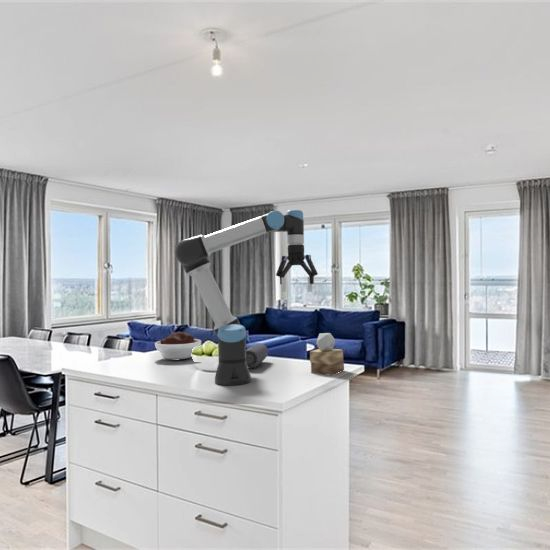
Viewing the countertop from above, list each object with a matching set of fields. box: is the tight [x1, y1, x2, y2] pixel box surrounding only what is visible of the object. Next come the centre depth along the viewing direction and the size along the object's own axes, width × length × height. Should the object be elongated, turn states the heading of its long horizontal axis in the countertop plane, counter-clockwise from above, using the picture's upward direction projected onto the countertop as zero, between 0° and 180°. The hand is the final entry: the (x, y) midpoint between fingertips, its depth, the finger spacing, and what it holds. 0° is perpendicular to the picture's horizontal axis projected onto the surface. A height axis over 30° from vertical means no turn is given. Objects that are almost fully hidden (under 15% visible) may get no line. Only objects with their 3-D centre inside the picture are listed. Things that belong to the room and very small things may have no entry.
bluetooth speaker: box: [246, 343, 269, 369], centre depth 240 cm, size 23×9×10 cm, turn 168°
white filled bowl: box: [154, 331, 202, 360], centre depth 266 cm, size 25×25×15 cm
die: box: [315, 332, 336, 351], centre depth 221 cm, size 8×9×10 cm
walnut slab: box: [310, 360, 345, 376], centre depth 221 cm, size 11×11×5 cm
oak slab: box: [309, 348, 344, 365], centre depth 221 cm, size 11×11×5 cm
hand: (296, 291), depth 220 cm, fingers open, 13 cm apart
